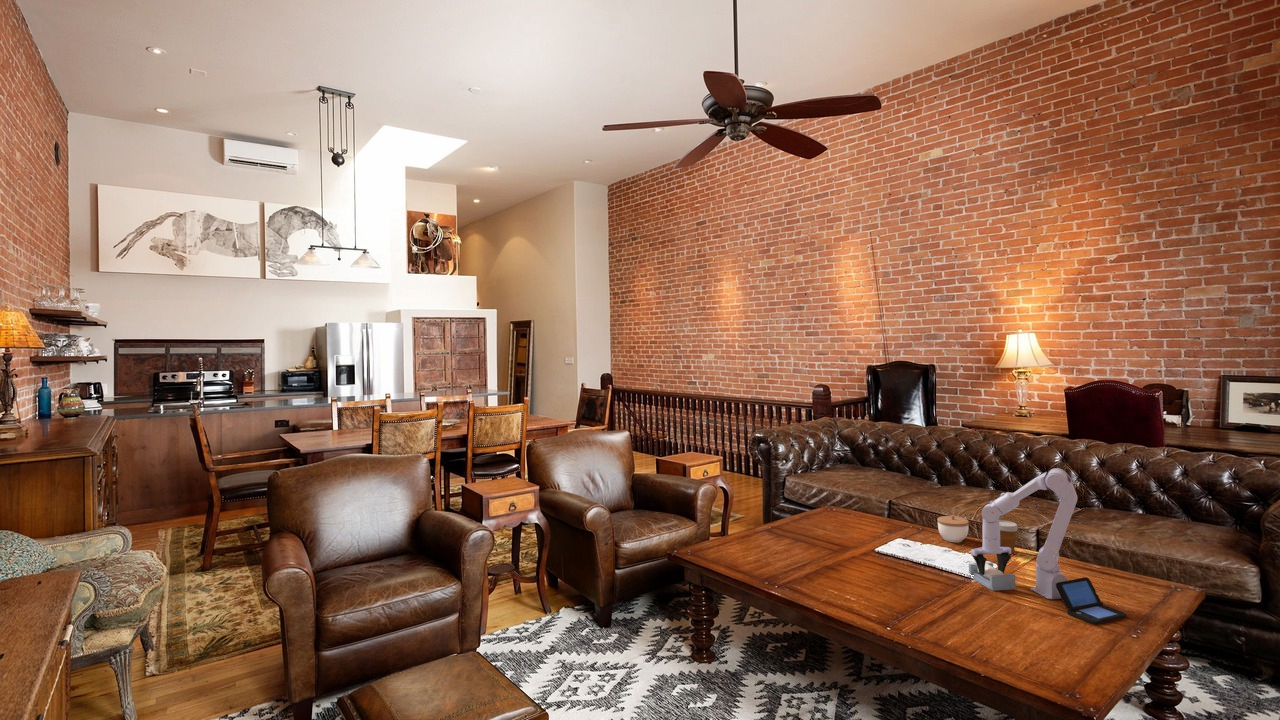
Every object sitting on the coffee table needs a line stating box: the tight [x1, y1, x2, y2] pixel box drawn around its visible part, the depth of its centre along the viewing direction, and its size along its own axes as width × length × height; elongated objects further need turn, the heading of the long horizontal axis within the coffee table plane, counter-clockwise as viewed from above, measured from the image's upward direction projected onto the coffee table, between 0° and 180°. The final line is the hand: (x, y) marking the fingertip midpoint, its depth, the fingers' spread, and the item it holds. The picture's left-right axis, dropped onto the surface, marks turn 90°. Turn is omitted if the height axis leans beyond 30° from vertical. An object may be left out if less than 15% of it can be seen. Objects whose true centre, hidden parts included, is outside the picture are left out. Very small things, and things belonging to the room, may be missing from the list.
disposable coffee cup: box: [999, 520, 1019, 555], centre depth 269 cm, size 10×10×12 cm
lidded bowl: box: [937, 514, 970, 543], centre depth 286 cm, size 13×13×11 cm
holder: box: [968, 561, 1017, 592], centre depth 237 cm, size 14×9×5 cm, turn 6°
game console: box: [1056, 577, 1128, 625], centre depth 210 cm, size 16×14×9 cm
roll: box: [978, 562, 1004, 580], centre depth 237 cm, size 8×5×5 cm, turn 6°
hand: (991, 573), depth 237 cm, fingers open, 7 cm apart
